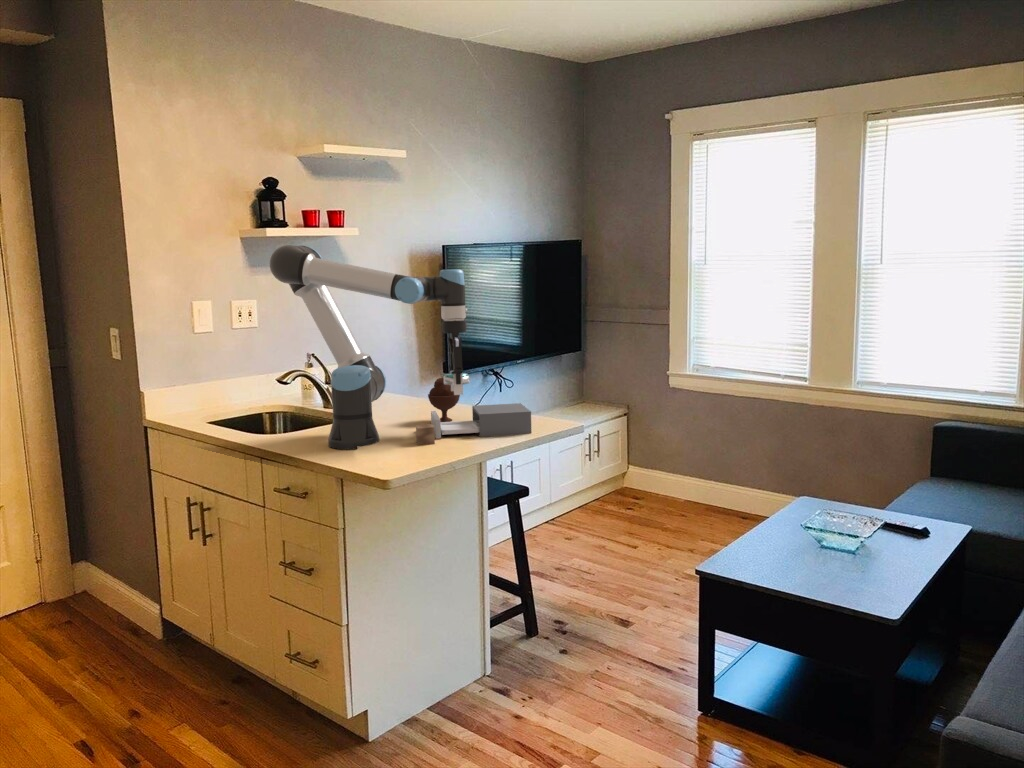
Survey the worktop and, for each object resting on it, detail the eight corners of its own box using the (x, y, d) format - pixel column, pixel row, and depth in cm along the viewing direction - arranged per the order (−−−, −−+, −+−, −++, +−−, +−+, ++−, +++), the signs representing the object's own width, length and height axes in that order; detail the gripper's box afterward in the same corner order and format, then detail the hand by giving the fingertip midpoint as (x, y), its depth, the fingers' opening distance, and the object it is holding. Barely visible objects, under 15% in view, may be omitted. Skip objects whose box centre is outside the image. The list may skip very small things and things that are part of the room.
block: (417, 444, 243) (417, 428, 243) (416, 441, 248) (415, 425, 248) (434, 443, 244) (434, 427, 244) (433, 440, 249) (432, 424, 248)
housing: (480, 436, 253) (479, 414, 252) (472, 426, 270) (472, 405, 269) (531, 433, 256) (531, 411, 255) (521, 424, 272) (520, 403, 271)
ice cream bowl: (422, 423, 278) (420, 379, 276) (440, 418, 287) (438, 375, 285) (449, 425, 273) (447, 380, 271) (466, 420, 282) (465, 376, 280)
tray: (436, 438, 251) (435, 419, 250) (431, 428, 267) (430, 411, 266) (488, 435, 254) (487, 417, 253) (480, 426, 270) (480, 408, 269)
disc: (445, 385, 254) (444, 376, 253) (442, 382, 261) (442, 373, 261) (471, 384, 255) (470, 375, 255) (467, 380, 263) (467, 372, 262)
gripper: (470, 320, 246) (473, 396, 249) (462, 317, 266) (464, 387, 269) (445, 322, 245) (448, 398, 248) (438, 318, 265) (441, 389, 268)
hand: (456, 392), depth 259 cm, fingers closed on disc, 8 cm apart
